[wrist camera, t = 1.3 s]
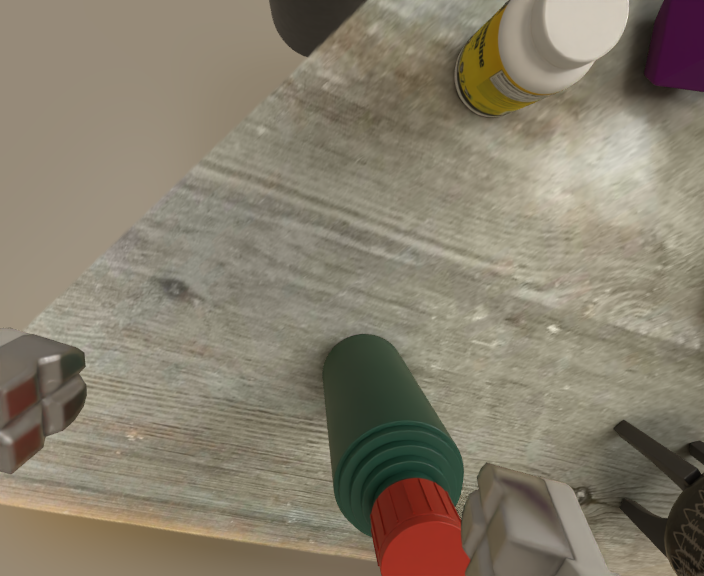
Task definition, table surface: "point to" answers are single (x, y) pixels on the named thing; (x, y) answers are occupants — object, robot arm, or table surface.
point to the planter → (687, 512)
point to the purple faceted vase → (677, 46)
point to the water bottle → (381, 428)
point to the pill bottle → (535, 51)
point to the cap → (417, 531)
